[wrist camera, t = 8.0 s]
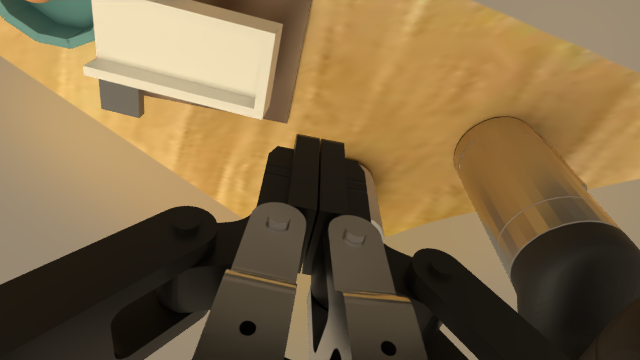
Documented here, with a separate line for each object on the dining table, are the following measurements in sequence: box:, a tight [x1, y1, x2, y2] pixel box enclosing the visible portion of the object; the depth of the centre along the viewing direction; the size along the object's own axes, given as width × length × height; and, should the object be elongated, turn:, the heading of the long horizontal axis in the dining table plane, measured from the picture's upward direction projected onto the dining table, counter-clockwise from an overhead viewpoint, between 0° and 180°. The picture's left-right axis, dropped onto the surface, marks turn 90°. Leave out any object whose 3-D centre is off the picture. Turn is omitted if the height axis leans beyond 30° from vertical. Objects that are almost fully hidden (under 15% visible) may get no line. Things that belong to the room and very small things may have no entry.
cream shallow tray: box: [83, 0, 283, 120], centre depth 34 cm, size 15×11×3 cm
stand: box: [144, 0, 312, 123], centre depth 37 cm, size 16×14×6 cm
